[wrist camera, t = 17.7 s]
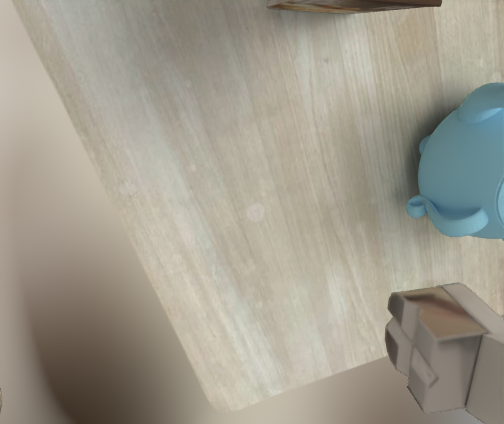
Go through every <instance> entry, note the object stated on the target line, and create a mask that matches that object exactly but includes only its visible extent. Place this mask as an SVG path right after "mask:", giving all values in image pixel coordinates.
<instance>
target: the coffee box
mask: <svg viewBox="0 0 504 424" xmlns="http://www.w3.org/2000/svg"><path fill="white" fill-rule="evenodd" d="M441 4H442V0H267V7H268V8H271V9H282V10H296V11H311V12H328V13H345V14H355V13H366V12H377V11H387V10H398V9H409V8H419V7H440V6H441Z"/></svg>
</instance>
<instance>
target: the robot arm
mask: <svg viewBox="0 0 504 424" xmlns="http://www.w3.org/2000/svg"><path fill="white" fill-rule="evenodd" d="M388 310H389V312H390V313H391V314H392V316H393V317H392V319H391V320H390V321H389V322H388V324H387V325H386V328H385V343H386V348H387V352H388V355H389V357H390V360H391V362H392V364H393V365H394V367H395V369H396V370H397V371H399V372H400V373H402V374H404V375H405V376H407V377H408V383H407V388H408V389H409V391H410V393H411V394H412V395H413V397H414V399H415V400H416V402H417V404H418V405H419V407H420V408H421V410H422V411H423V413H424V414H427V413H434V412H442V411H448V410H456V409H464V408H466V411H467V412H468V413H470V414H471V415H473V416H474V417H475V418H477V419H478V420H480V421H481V422H482V423H484V424H504V319H503V318H502V317H501V316H500V315H498V314H497V313H496V312H495V311H494V310H493V309H492V308H491V307H490V306H488V305H487V304H486V303H485V302H484V301H483V300H482V299H481V298H479V297H478V296H477V295H476V294H475V293H474V292H473V291H472V290H471V289H469V288H468V287H467V286H466V285H464V284H462V283H459V282H458V283H452V284H446V285H439V286H436V287H431V288H424V289H416V290H409V291H401V292H394V293H392V294H391V296H390V298H389V302H388ZM1 406H2V396H1V389H0V412H1Z"/></svg>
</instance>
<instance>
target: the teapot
mask: <svg viewBox="0 0 504 424" xmlns="http://www.w3.org/2000/svg"><path fill="white" fill-rule="evenodd" d="M419 152H420V154H421V155H422V156H421V160H420V164H419V171H418V185H419V191H420V194H421V195H417V196H414V197H412V198H411V199H410V200H409V201H408V202H407V204H406V211H407V213H408V215H409V216H411V217H413V218H418V217H421V216H423V215H425V214H426V213H428V215H429V218H430V220H431V221H432V223H433V225H434V226H435V228H436V229H437V230H438V231H439V232H441V233H442V234H444V235H446V236H450V237H462V236H467V235H470V236H473V237H480V238H487V239H503V240H504V83H490V84H486V85H483V86H481V87H479V88H478V89H476V90H475V91H473V92H472V93H471V94H469V95H468V96H467V97H466V98H465V100H464V101H463V103H462V105H461V106H459V107H458V108H456V109H455V110H454V111H453V112H451V113H450V114H449V115H448V116H447V117H446V118H445V119H444V120H443V121H442V122H441V123H440V124H439V125H438V127H437V128H436V129H435V131H434V132H433V134H432V135H428V136H426V137H425V138H424V139H423V140H422V141H421V143H420V146H419Z"/></svg>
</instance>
